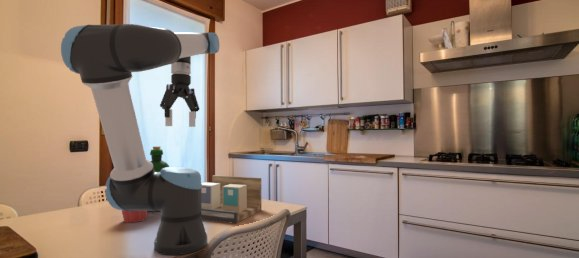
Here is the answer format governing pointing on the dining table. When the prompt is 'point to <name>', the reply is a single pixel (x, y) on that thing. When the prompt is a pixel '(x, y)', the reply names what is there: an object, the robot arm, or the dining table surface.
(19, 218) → the dining table surface
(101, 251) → the dining table surface
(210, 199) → the cream box
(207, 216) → the shelf
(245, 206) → the tea box
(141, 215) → the flower pot
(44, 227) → the dining table surface
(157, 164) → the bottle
